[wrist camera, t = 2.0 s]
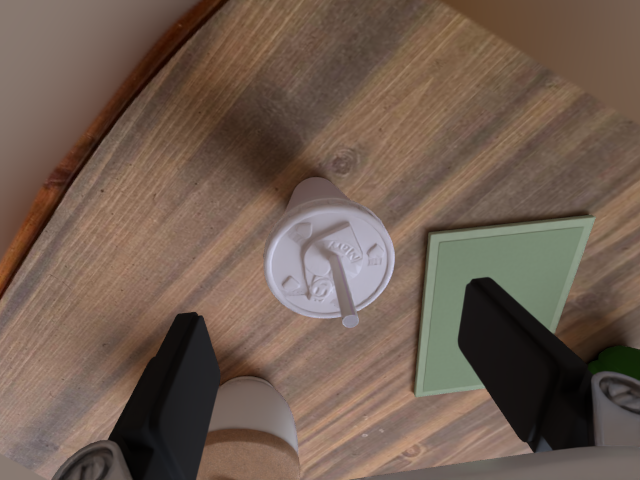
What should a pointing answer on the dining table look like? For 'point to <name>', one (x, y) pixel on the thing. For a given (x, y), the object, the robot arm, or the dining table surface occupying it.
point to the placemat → (506, 270)
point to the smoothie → (327, 254)
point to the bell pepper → (618, 361)
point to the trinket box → (250, 434)
